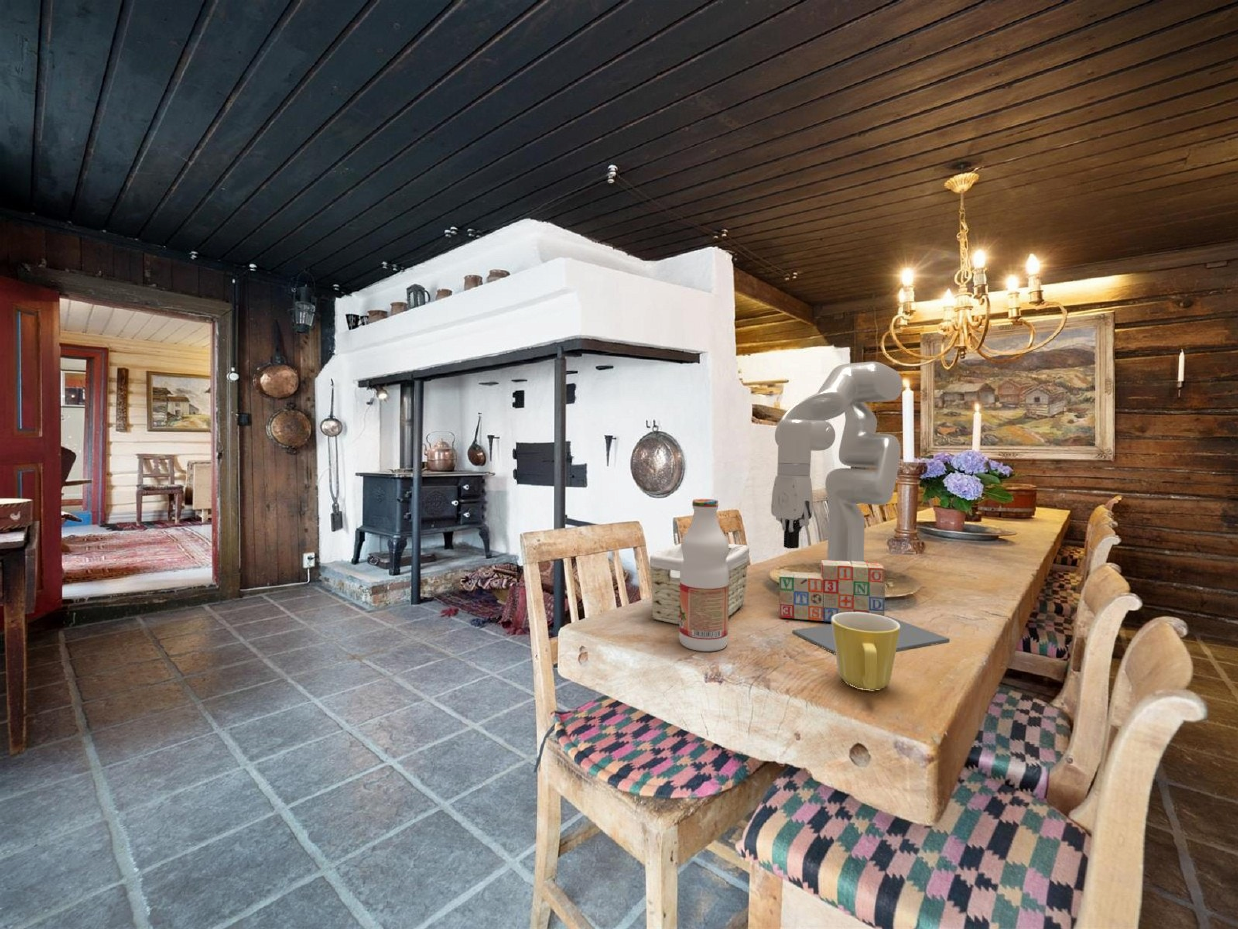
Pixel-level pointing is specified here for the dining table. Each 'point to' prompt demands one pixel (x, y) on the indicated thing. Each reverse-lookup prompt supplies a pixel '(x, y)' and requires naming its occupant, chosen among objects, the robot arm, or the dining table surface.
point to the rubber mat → (908, 633)
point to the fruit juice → (704, 581)
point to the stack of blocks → (832, 591)
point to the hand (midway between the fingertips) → (791, 547)
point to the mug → (865, 648)
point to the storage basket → (668, 580)
